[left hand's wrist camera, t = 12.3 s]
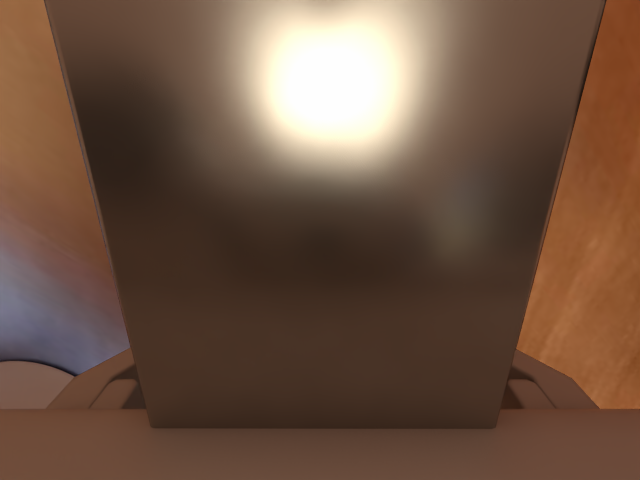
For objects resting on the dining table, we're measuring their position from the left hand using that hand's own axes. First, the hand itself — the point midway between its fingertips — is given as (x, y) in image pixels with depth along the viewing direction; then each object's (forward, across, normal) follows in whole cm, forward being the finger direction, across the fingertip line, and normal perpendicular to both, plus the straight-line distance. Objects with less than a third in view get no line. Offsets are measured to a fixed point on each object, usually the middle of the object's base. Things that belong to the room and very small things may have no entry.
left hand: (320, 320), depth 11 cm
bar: (+3, 0, -9) cm, 10 cm away
